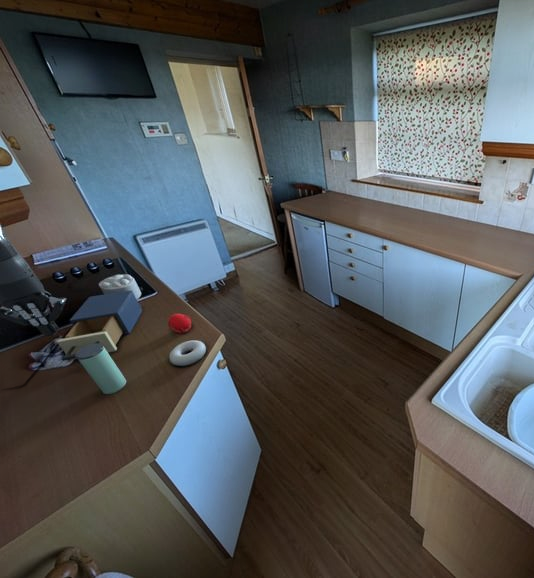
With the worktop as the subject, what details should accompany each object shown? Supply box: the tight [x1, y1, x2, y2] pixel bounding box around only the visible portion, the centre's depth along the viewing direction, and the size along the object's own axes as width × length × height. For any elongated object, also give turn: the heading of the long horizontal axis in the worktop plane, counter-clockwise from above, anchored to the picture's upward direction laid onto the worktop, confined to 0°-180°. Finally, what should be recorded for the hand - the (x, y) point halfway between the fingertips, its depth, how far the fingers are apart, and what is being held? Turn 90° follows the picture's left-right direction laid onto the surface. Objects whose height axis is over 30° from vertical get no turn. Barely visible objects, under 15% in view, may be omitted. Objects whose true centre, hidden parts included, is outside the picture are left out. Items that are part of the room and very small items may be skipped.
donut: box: [169, 339, 207, 367], centre depth 93 cm, size 10×4×10 cm
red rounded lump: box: [167, 313, 192, 334], centre depth 104 cm, size 8×6×6 cm
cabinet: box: [69, 291, 143, 336], centre depth 104 cm, size 15×13×9 cm
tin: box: [75, 343, 127, 395], centre depth 80 cm, size 6×6×14 cm
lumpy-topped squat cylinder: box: [98, 273, 142, 300], centre depth 120 cm, size 10×13×9 cm
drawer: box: [56, 315, 124, 361], centre depth 94 cm, size 19×12×7 cm, turn 21°
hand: (52, 333), depth 76 cm, fingers closed
